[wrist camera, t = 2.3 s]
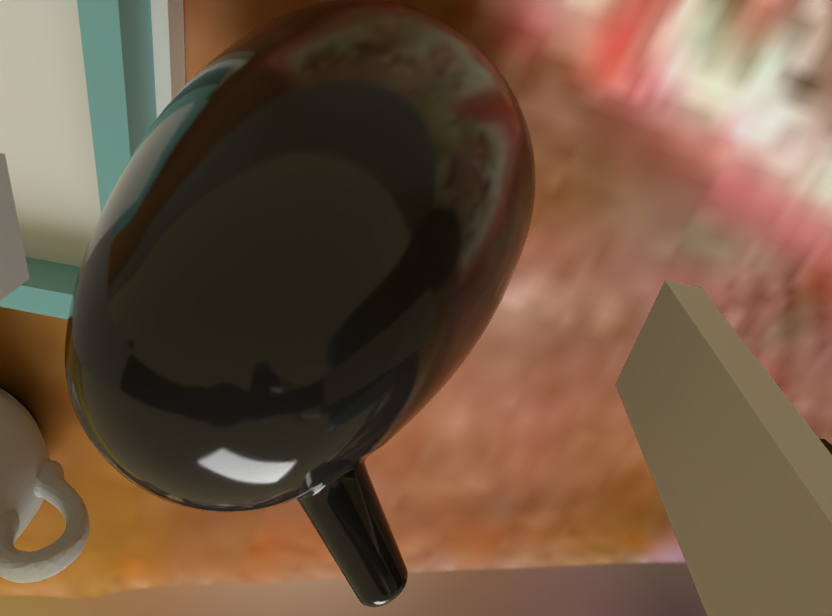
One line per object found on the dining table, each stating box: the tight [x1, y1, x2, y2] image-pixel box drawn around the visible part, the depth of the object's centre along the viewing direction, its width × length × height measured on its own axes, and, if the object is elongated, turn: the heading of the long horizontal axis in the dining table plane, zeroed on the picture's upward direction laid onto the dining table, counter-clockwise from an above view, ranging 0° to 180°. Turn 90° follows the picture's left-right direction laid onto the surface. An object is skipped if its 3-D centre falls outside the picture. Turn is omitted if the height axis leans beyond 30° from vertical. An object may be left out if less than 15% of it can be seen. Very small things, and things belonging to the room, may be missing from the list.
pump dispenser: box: [65, 0, 535, 607], centre depth 14 cm, size 10×10×15 cm
